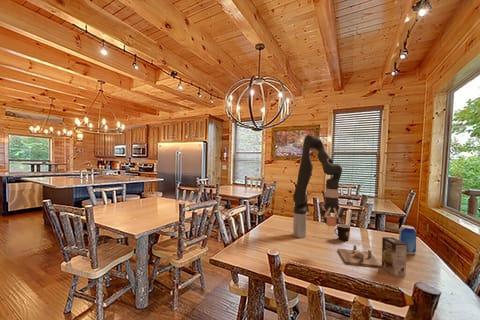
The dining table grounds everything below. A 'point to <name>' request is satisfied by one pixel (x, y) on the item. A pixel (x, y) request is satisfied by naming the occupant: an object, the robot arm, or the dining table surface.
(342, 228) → the coffee mug
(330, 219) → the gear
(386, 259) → the coffee box
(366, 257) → the carrier
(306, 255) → the dining table surface
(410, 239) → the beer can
